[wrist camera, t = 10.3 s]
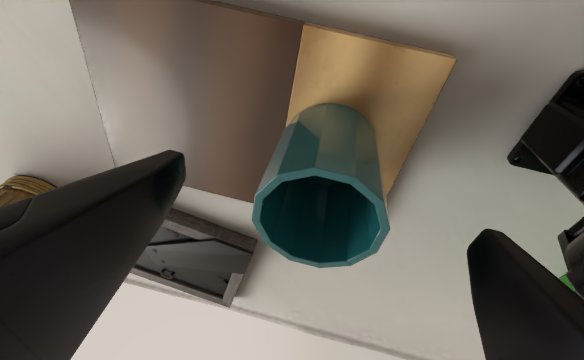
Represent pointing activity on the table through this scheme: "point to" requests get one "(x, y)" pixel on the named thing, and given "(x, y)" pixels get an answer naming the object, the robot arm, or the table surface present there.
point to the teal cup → (324, 190)
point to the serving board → (243, 85)
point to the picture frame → (196, 258)
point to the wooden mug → (21, 189)
